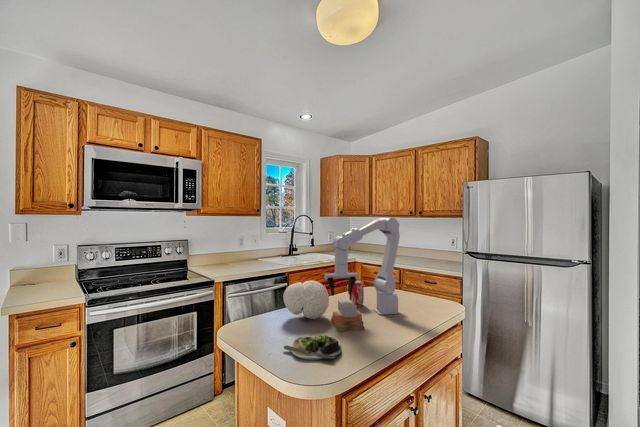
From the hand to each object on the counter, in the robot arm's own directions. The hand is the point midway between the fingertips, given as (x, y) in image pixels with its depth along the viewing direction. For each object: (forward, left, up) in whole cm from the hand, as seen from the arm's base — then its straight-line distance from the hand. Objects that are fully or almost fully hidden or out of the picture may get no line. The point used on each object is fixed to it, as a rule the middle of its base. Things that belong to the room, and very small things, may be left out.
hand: (341, 294), depth 133 cm
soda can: (-12, -17, -11) cm, 23 cm away
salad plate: (+15, +28, -11) cm, 34 cm away
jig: (-1, +8, -10) cm, 13 cm away
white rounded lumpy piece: (+15, -2, -11) cm, 19 cm away
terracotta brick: (-1, +8, -9) cm, 12 cm away
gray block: (-1, +8, -5) cm, 10 cm away
